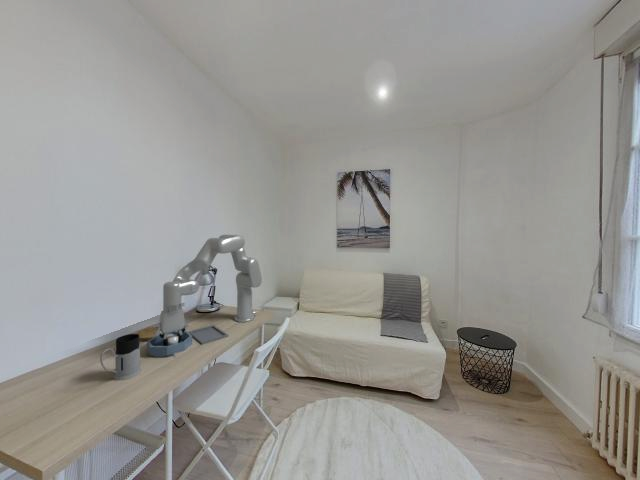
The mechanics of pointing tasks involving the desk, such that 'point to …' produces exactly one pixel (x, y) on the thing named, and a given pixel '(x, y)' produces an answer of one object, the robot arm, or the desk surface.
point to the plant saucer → (147, 333)
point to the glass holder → (126, 357)
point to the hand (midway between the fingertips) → (172, 344)
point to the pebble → (172, 339)
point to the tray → (208, 334)
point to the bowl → (157, 348)
